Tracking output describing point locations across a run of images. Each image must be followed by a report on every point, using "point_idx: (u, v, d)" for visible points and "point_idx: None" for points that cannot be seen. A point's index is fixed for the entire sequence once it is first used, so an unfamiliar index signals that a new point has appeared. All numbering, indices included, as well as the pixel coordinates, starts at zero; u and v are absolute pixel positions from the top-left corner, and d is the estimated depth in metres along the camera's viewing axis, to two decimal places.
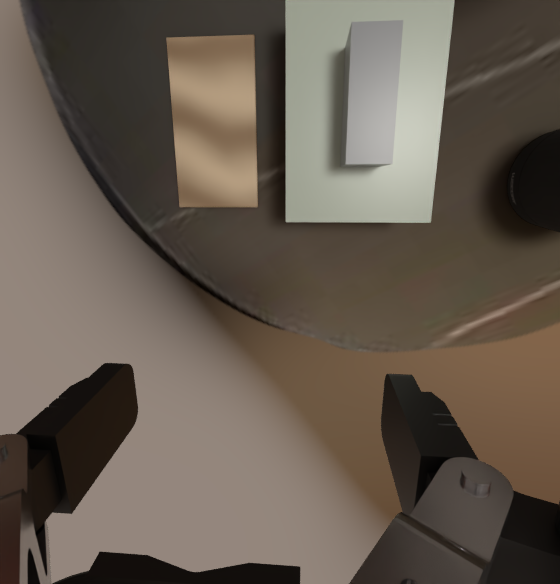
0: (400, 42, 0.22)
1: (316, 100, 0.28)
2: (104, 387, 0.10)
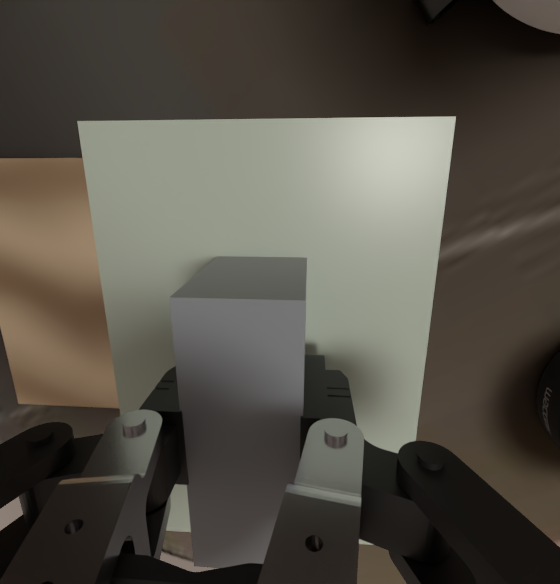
0: (301, 349, 0.08)
1: (169, 345, 0.14)
2: None
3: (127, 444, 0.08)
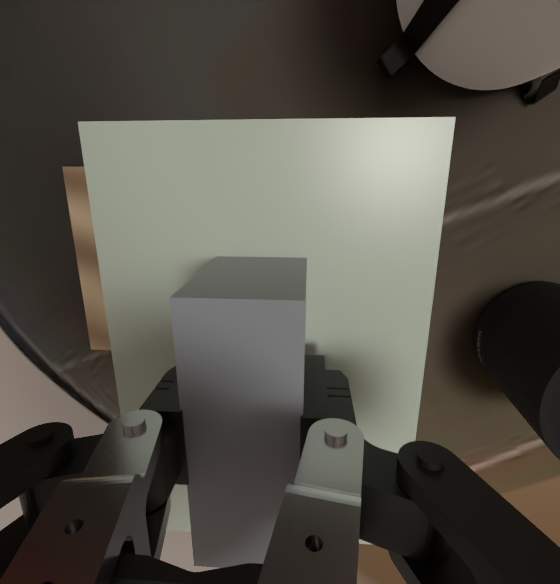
0: (301, 349, 0.08)
1: (170, 345, 0.14)
2: None
3: (127, 444, 0.08)
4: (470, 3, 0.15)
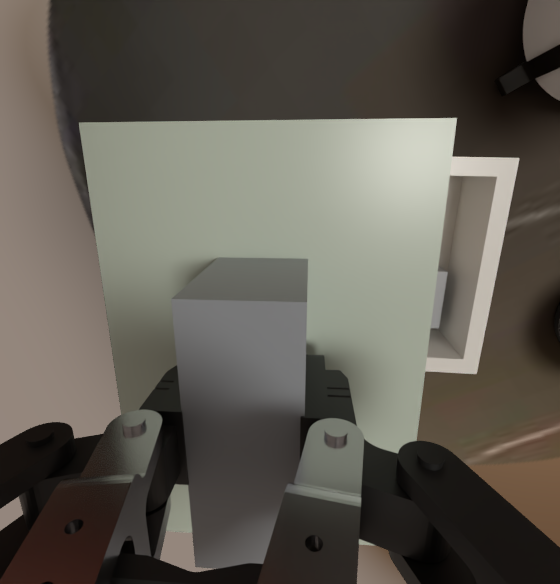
0: (302, 351, 0.08)
1: (171, 346, 0.14)
2: None
3: (127, 444, 0.08)
4: None
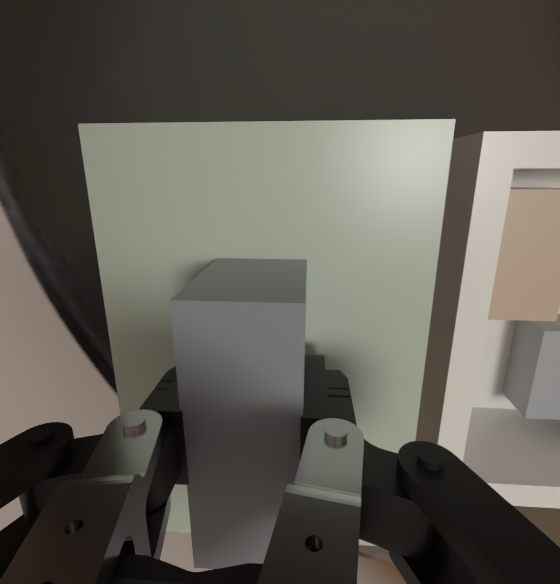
0: (301, 352, 0.08)
1: (170, 347, 0.14)
2: None
3: (127, 444, 0.08)
4: None
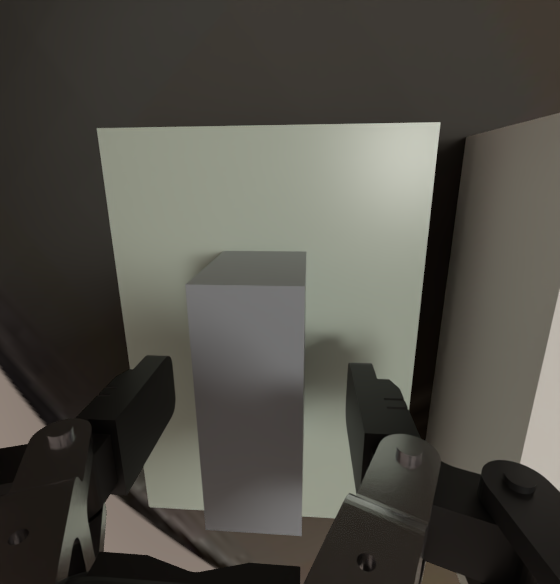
0: (301, 329, 0.10)
1: (180, 333, 0.15)
2: (151, 377, 0.11)
3: (47, 455, 0.08)
4: None
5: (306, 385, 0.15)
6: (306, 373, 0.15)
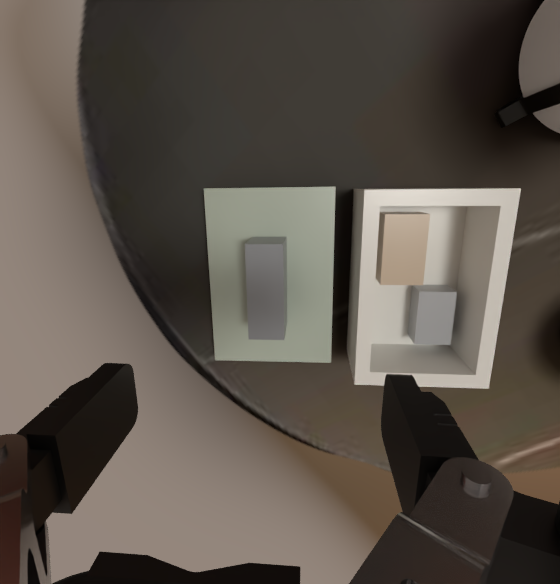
0: (282, 258, 0.29)
1: (233, 273, 0.35)
2: (104, 387, 0.10)
3: None
4: None
5: (287, 295, 0.35)
6: (287, 289, 0.35)
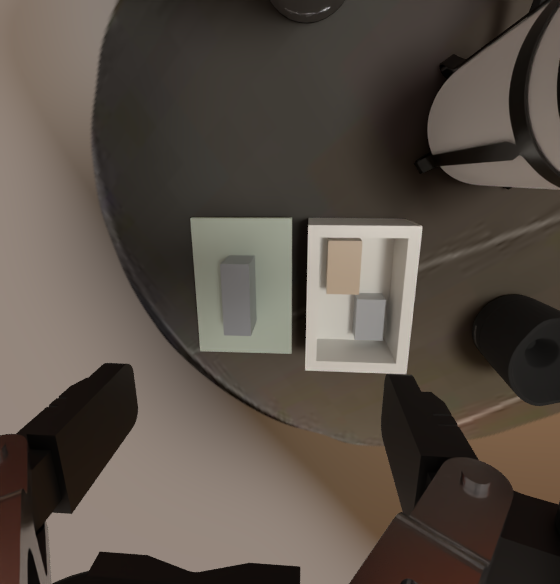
0: (248, 275, 0.39)
1: (214, 283, 0.44)
2: (104, 387, 0.10)
3: None
4: (470, 165, 0.31)
5: (256, 301, 0.44)
6: (256, 296, 0.44)
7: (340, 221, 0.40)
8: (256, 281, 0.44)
